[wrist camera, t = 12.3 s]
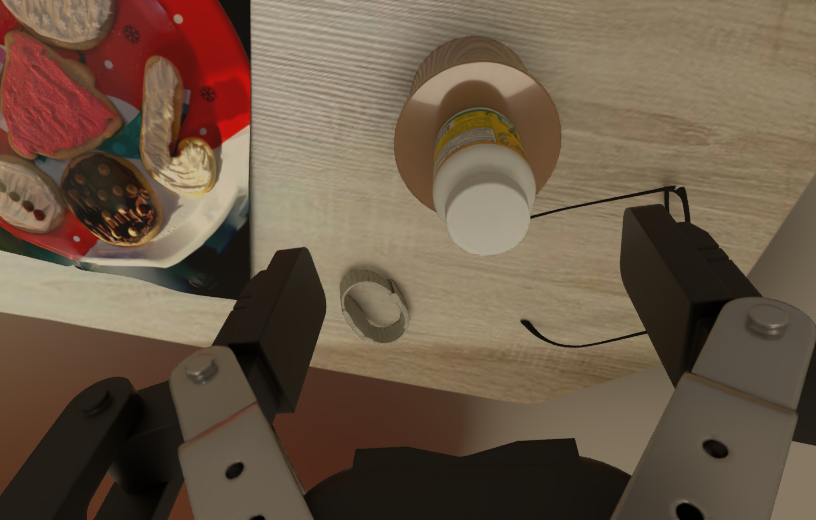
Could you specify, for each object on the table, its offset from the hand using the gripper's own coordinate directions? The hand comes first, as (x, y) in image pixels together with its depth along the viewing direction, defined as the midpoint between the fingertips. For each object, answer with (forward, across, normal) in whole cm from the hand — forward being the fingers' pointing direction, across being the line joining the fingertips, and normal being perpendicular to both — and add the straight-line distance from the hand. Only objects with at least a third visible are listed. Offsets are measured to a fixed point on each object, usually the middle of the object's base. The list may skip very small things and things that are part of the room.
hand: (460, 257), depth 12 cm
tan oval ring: (+30, +11, +24) cm, 40 cm away
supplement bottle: (+19, -1, +5) cm, 20 cm away
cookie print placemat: (+30, +35, 0) cm, 46 cm away
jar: (+30, -1, +5) cm, 30 cm away
